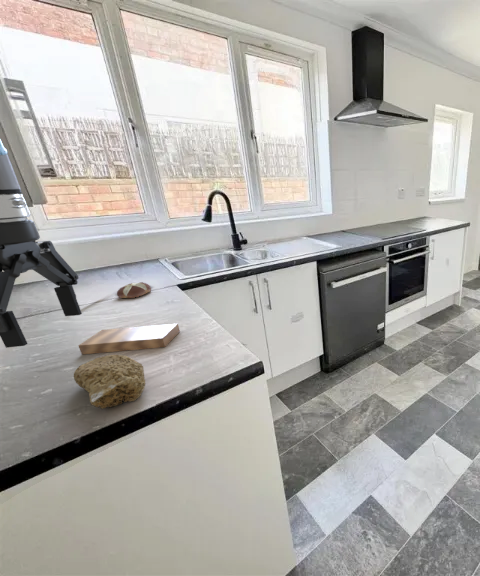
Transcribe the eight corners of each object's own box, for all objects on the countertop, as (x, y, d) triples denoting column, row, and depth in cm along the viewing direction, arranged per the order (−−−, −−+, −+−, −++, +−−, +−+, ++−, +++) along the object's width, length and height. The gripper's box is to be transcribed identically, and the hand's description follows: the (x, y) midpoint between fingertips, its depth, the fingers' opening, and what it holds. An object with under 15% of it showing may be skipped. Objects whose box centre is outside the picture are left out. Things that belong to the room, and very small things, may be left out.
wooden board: (81, 354, 89) (78, 345, 88) (105, 338, 98) (102, 329, 97) (165, 347, 92) (162, 338, 91) (180, 331, 102) (177, 323, 101)
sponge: (155, 399, 72) (143, 351, 85) (139, 377, 67) (129, 330, 80) (84, 434, 65) (82, 376, 78) (61, 413, 61) (63, 355, 73)
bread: (156, 290, 141) (153, 279, 139) (137, 299, 130) (133, 288, 129) (133, 290, 141) (129, 279, 140) (111, 299, 131) (107, 288, 129)
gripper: (-53, 229, 43) (12, 360, 50) (77, 212, 66) (109, 303, 73) (-120, 232, 42) (-44, 366, 49) (37, 214, 65) (73, 306, 72)
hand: (48, 329), depth 61 cm, fingers open, 13 cm apart
